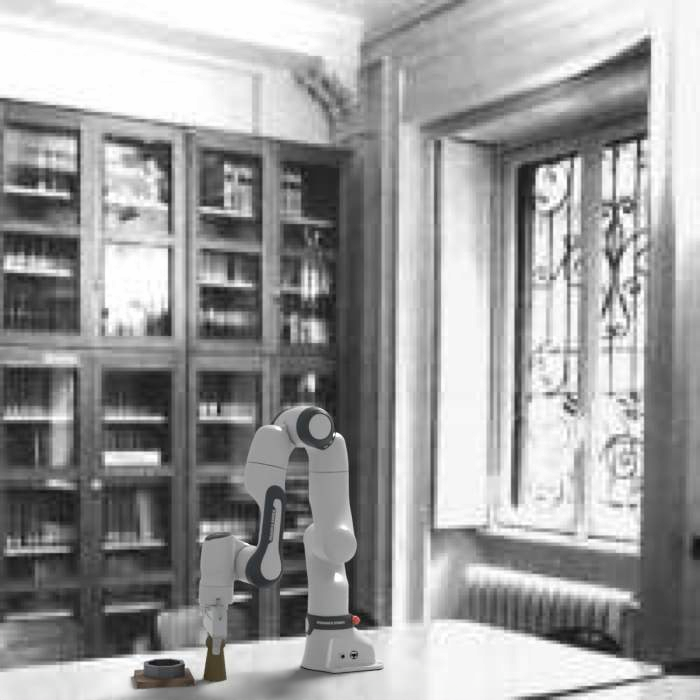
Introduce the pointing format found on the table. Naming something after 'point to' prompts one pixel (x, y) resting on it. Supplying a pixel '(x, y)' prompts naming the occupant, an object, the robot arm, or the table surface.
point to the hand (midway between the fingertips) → (213, 650)
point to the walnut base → (163, 680)
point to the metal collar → (164, 669)
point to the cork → (214, 662)
